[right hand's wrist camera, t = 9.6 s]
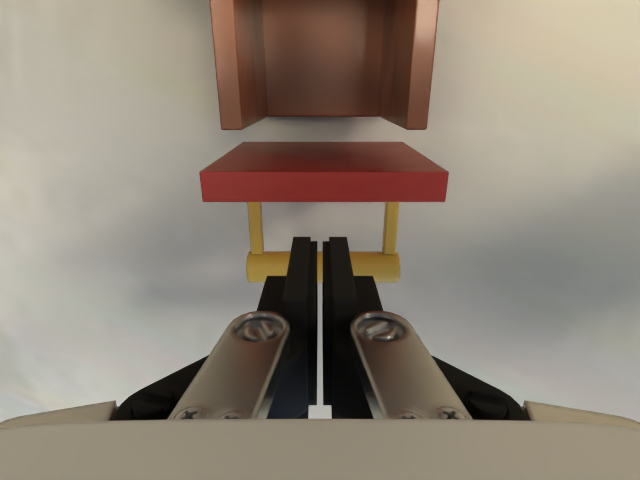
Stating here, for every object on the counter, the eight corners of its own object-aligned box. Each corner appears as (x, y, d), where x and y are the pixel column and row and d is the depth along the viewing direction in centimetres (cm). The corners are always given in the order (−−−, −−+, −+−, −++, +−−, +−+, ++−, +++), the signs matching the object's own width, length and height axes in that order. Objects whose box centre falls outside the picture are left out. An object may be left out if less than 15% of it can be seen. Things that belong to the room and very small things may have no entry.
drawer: (395, 244, 25) (430, 320, 17) (250, 244, 25) (216, 320, 17) (427, -180, 18) (521, -418, 9) (220, -180, 18) (131, -416, 9)
